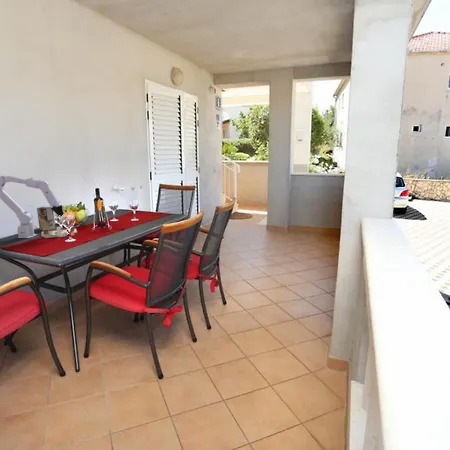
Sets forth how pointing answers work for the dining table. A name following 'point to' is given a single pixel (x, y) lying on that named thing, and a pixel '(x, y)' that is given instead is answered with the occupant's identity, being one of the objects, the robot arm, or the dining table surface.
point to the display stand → (47, 232)
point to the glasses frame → (57, 233)
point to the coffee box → (46, 218)
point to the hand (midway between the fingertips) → (61, 215)
